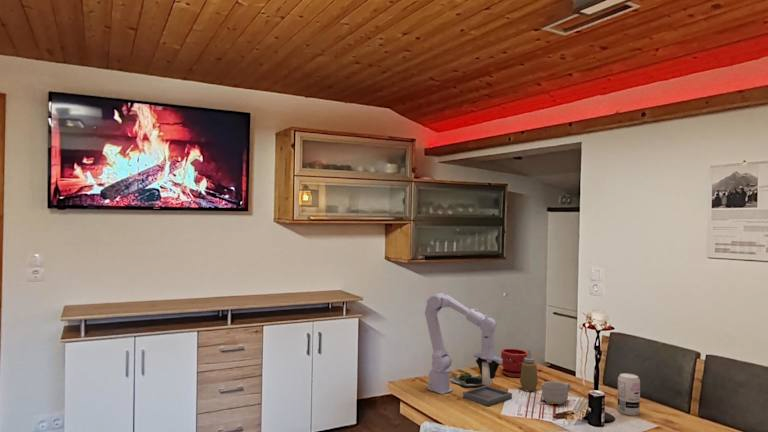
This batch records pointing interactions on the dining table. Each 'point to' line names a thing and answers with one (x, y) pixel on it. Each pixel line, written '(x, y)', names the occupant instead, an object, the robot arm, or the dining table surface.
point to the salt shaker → (486, 373)
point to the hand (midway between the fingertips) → (487, 376)
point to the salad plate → (467, 380)
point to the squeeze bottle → (529, 373)
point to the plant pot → (512, 361)
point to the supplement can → (629, 394)
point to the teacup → (555, 392)
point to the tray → (487, 395)
